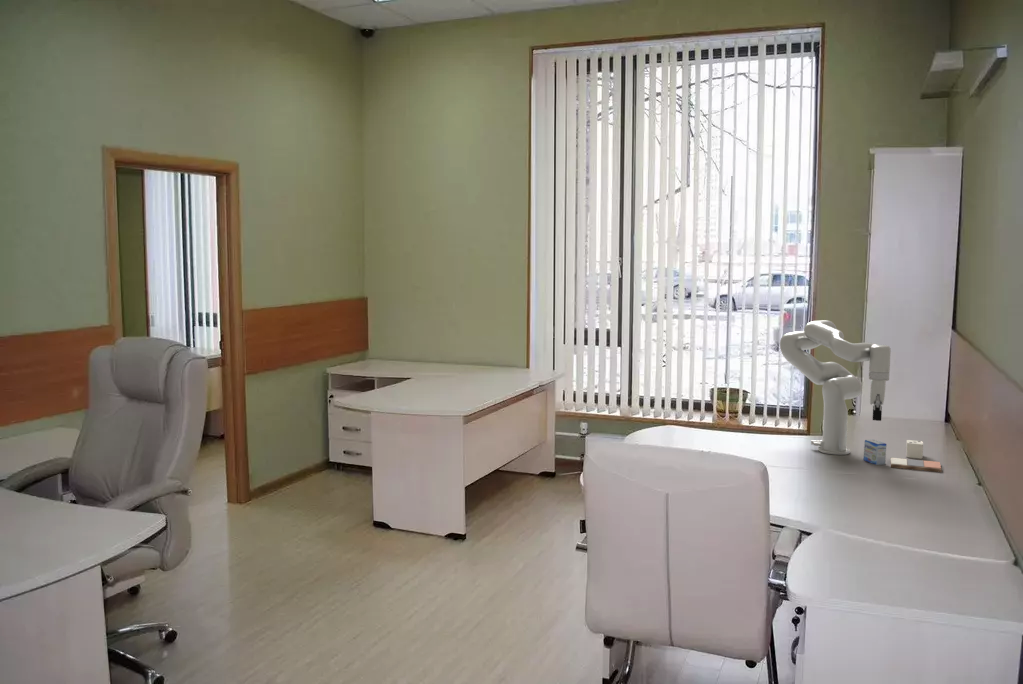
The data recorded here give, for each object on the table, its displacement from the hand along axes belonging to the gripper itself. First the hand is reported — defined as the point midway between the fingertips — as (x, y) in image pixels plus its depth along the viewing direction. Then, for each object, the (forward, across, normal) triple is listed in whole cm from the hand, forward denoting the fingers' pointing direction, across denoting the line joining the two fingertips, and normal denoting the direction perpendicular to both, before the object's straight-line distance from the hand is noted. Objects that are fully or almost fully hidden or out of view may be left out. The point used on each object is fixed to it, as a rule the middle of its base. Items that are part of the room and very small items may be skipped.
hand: (876, 418), depth 345 cm
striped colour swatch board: (+18, 0, +15) cm, 24 cm away
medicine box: (+18, 0, 0) cm, 19 cm away
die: (+18, -17, +15) cm, 29 cm away
